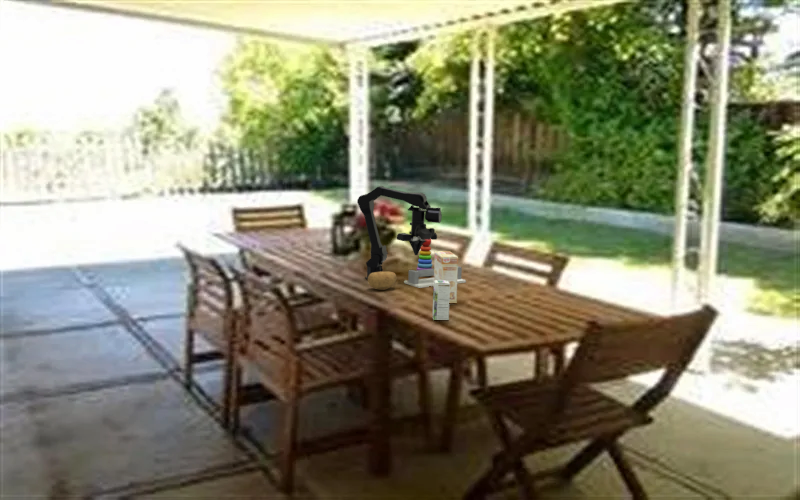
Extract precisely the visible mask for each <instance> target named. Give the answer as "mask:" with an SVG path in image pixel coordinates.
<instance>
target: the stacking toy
mask: <svg viewBox="0 0 800 500" xmlns="http://www.w3.org/2000/svg"><path fill="white" fill-rule="evenodd" d="M425 240H426V242H424V243H423V244H422V246H421V248H420V250H419V253H418V261H417V262H418V263H417V267H416V271H417V270H427V269H433V263H432V262H433V259H432V251H431V250H432V247H431V245H432V239H431V238H430V240H428V239H425ZM424 277H427V278H428V276H424Z"/></svg>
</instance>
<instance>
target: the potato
mask: <svg viewBox="0 0 800 500" xmlns="http://www.w3.org/2000/svg"><path fill="white" fill-rule="evenodd" d="M396 282H397V274H396V273H395V272H393V271H383V272H374V273H371V274H370V275H369V276H368V279H367V283H368V285H369V286H370V288H372V289H375V290H380V291H384V290H385V291H386V290H388V289H389V288H391V287H392V286H393V285H395V283H396Z"/></svg>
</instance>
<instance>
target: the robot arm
mask: <svg viewBox="0 0 800 500" xmlns="http://www.w3.org/2000/svg"><path fill="white" fill-rule="evenodd" d="M381 196H382V197H385V198H391V199H395V200H399V201H403V202H406V203H407V204H409V205H410V207H409V208H407V211H408V212H409V211H410V212H411V222H409V225H410V226H411V227H410V231H409V233H406V232H399V233H397V234H396V240H398V241H402V242H409V244H410V246H411V249H412V252H413V253H414V256H419V254H420V253H419V252H420V251H421V249H420V248H421V246H423V245H422V244H423V243H424V242H426V240H425V239H428V240H430V238H431V241H432V240H433V241H434V240H438V234H437V233H436V231H435V228H433V227H430V228H427V224H426V223H425V221H426V222H427V223H434V224H435V223H436V224H437V223H438V224H440V223H441V222H442V215H443V214H442V210H441V209H442V208H441V207H439V206H438V207H431V205H430V203H429V201H428V200H427V199H428V198H427V196H426V194H425V193H423V192H408V191H407V192H406V191H402V190H398V189H394V188H390V187H385V186H383V185H380V186H379V185H378V186H377V187H375V189H373V190H371V191H369V192H368V193H365V194H361V195H360V196H358V198H357V205H358V208H359V209H360V211H361V213H362V214H363V217H364V220H365V225H366V229H367V234H368V237H369V242H370V258H369V259H368V260H367V261H366V262H365V265H366V277H364V278H365V279H367V280H368V276H369V275H370V274H371V273H374V272H384V269H383V264H384V262H385V261H386V260H387V258H388V254H389V253H388V250H387V245H383V244H382V243H381V239H380V235H379V230H378V227H377V222H376V218H375V213H374V210H375V209H374V208H375V202H374V201H376V200H377V199H378V198H380V197H381Z"/></svg>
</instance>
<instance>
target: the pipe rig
mask: <svg viewBox="0 0 800 500" xmlns="http://www.w3.org/2000/svg"><path fill="white" fill-rule="evenodd" d="M462 275H463V274H462V266H459V265H458V276H457V284H463V283H465V284H466V283H467V280H466V279H463V278H462ZM425 276H427V278H423V277H425ZM431 276H433V277H431ZM407 277H408V280H404V281H403V283H404V284H406V285H408V286H409V285H410V286H412V287H415V288H418V289H419V288H420V289H421V288H422V289H423V288H430V287H429V286H431V287H434V268H432V269H427V270H417V269H416V270H415V269H409V270H408V276H407Z"/></svg>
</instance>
